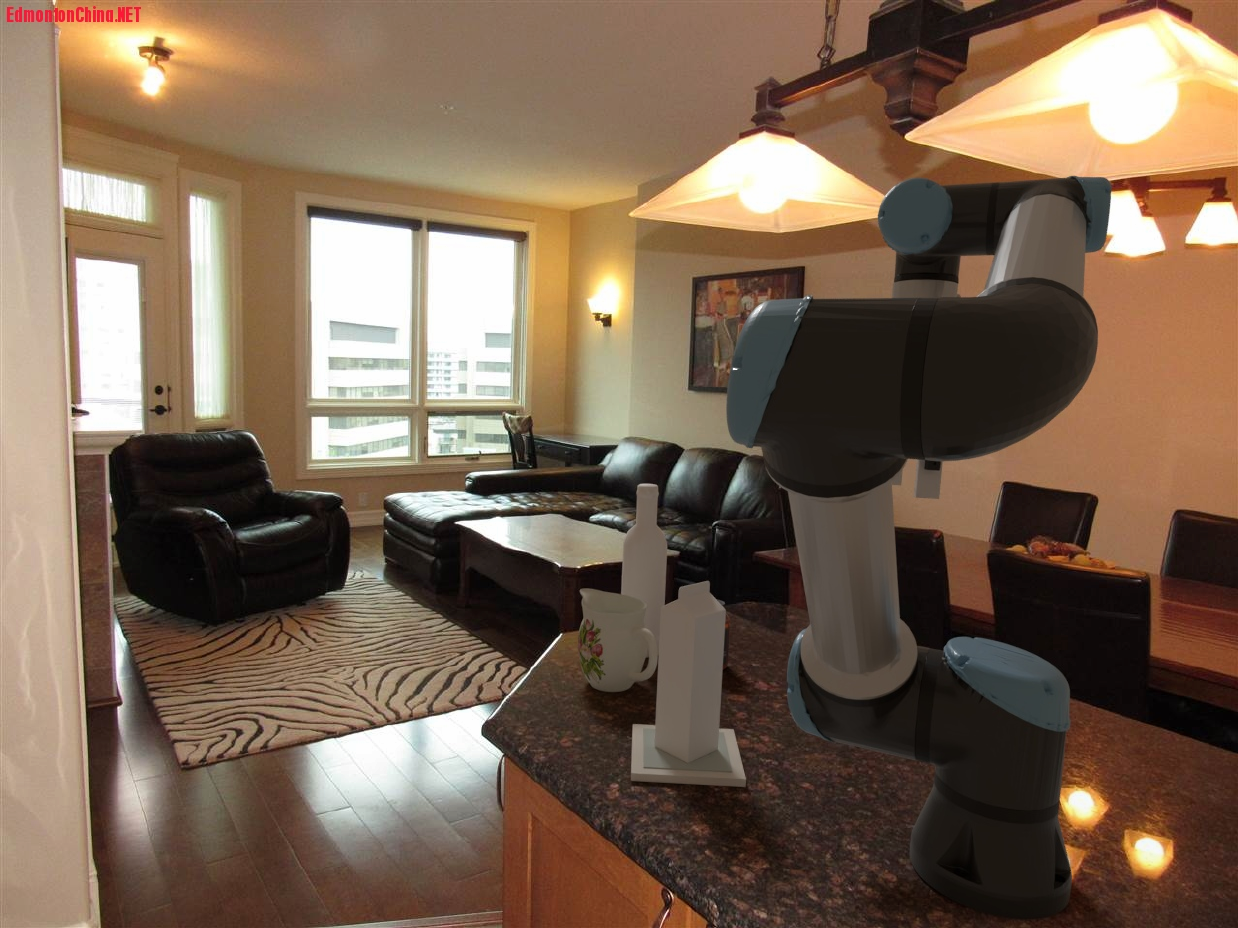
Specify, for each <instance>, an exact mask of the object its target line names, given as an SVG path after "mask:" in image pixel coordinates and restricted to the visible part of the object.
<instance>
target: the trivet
mask: <svg viewBox="0 0 1238 928" xmlns="http://www.w3.org/2000/svg"><path fill="white" fill-rule="evenodd" d="M631 735H632V736H631V763H630V764H631V766H630V782H642V783H643V782H644V783H645V782H647V783H660V784H661V783H664V784H680V785H681V784H682V785H683V784H684V785H701V786H703V785H704V786H716V787H717V786H719V787H735V788H736V787H738V788H740V787H741V788H746V785H747V782H746V781H747V777H746V775H745V771H744V766H743V762H742V758H741V753H740V750H739V746H738V743H737V737H736V734H735V730H734V728H720V727H719V741H718V750H716V751H714V752H712V753H709V754H707V755H705V756H703V757H701V758H698V759H696V760H694V761H692V762H690V763H687V762H684V761H682V760H680V759H678V758H676V757H674V756H672V755H670V754H668V753H666V752H664V751H662V750H660V749H658V748H656V747H655V746H654V744H655V724H640V723H637V724H636V723H632V734H631Z"/></svg>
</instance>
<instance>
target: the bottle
mask: <svg viewBox="0 0 1238 928" xmlns="http://www.w3.org/2000/svg"><path fill="white" fill-rule="evenodd" d="M635 494H636V515H635V516H636V517H635V524H634V525H633V526H632V527H631V528H629V529H628V531H627V532H626V535H625V537H624V539H623V545H622V546H623V547H622V566H621V567H622V568H621V588H620V589H621V591H620V594H623V595H627V596H631V597H634V598H637V599H640V600H642V601H644V602H645V603H646V604H647V608H646V612H645V616H644V624H645V628H646V629H648V630H649V631H651V632H652V634H653V635H654V637H655V639H656V642H657V648H658V656H659V638H660V617H661V607H662V606H664V605H666V602H665V600H666V582H667V581H666V580H667V559H668V542H667V538H666V535H665V532H664V531H663V530H662V529H661V528H660V527H659V526H658V524H657V523H658V522H657V521H658V518H657V517H658V504H659V503H658V497H659V495H660V492H659V485H657V484H655V483H654V484H653V483H639V484H638V485H637V490H636V493H635ZM646 658H648V659H649V648H648V644H647V652H646V657H645V659H646Z"/></svg>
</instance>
